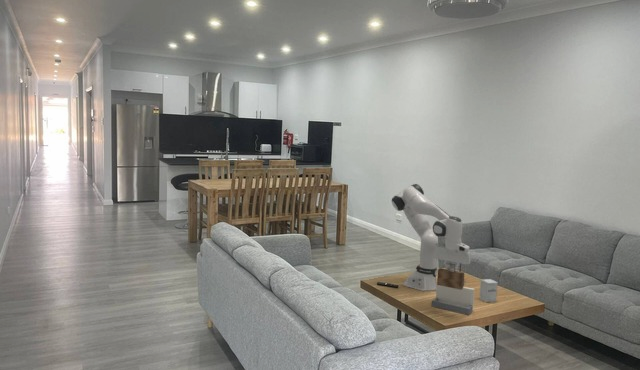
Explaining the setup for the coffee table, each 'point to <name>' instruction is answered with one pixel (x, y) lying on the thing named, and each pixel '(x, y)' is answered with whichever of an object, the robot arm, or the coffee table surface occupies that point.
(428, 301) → the coffee table surface
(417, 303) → the coffee table surface
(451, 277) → the walnut panel
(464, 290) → the board
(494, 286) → the supplement box
